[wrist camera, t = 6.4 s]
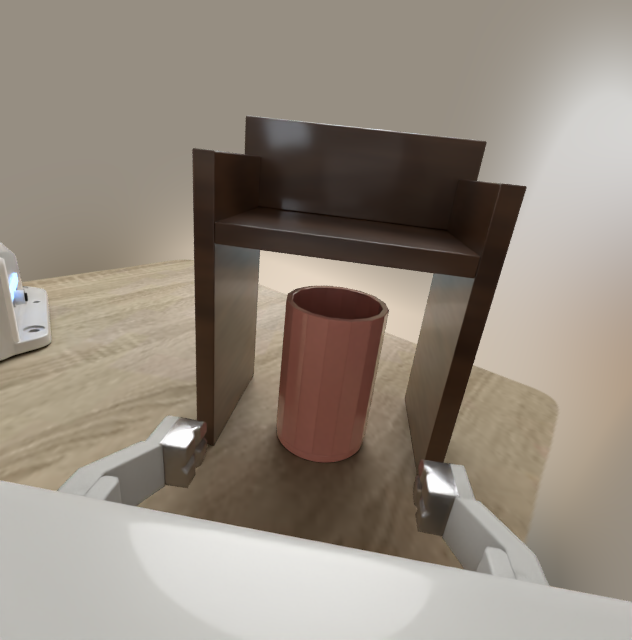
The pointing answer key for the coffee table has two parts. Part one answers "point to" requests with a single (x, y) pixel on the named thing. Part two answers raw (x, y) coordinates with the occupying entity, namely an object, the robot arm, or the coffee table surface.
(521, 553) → the robot arm
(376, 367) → the cup
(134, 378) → the coffee table surface
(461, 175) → the dark wooden stand
